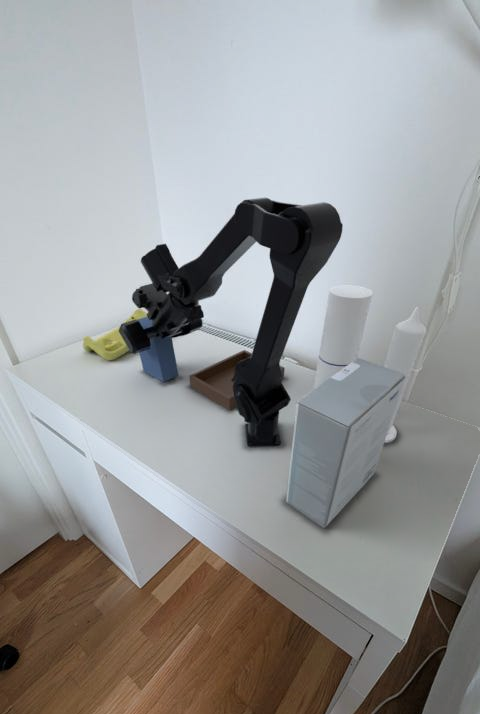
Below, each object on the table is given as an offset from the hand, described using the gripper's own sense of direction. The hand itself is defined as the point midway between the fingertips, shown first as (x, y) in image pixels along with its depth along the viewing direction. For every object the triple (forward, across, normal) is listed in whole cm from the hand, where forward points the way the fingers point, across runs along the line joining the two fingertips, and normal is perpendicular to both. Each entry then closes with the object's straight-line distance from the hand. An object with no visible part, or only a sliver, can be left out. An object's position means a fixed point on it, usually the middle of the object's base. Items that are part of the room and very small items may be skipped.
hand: (152, 342), depth 81 cm
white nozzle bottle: (-32, -17, +41) cm, 55 cm away
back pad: (+4, 0, +7) cm, 8 cm away
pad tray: (-8, -11, +18) cm, 23 cm away
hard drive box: (-33, +2, +42) cm, 54 cm away
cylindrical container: (-24, -16, +33) cm, 44 cm away
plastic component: (+20, -2, -7) cm, 21 cm away
